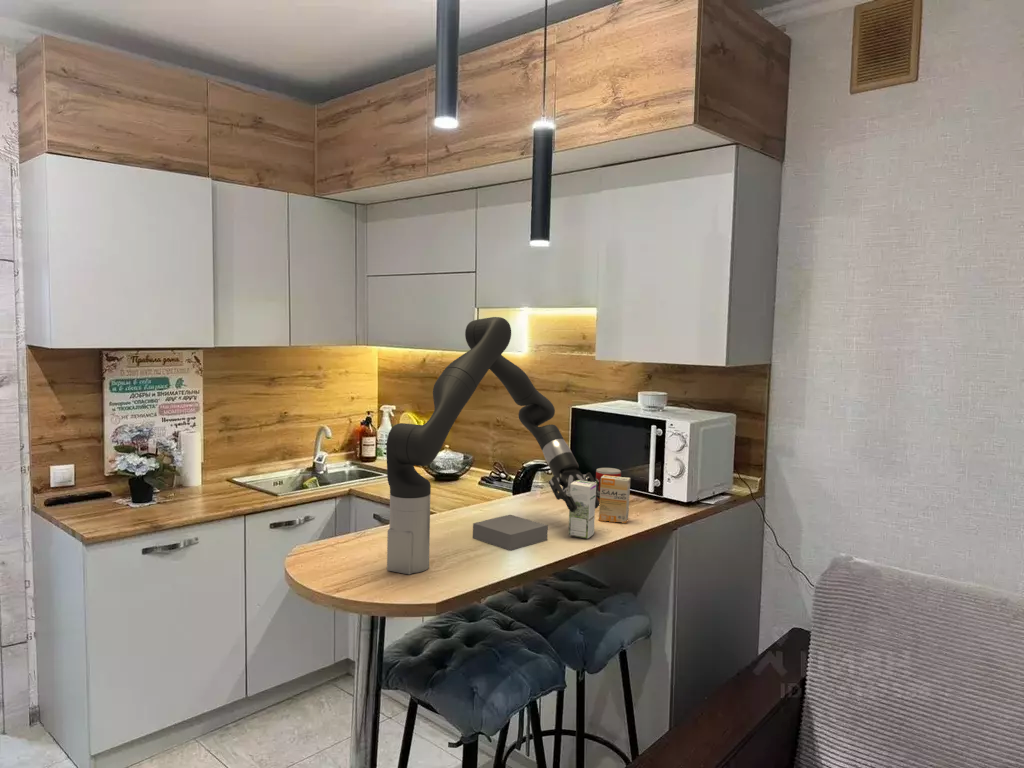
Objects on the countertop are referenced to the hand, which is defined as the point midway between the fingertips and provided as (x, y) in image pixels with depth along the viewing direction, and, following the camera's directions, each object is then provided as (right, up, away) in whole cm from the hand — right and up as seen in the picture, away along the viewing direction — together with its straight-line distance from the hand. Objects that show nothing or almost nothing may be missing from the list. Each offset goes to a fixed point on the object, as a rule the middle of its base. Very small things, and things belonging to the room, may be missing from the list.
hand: (585, 508), depth 192 cm
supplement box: (+10, -7, +19) cm, 22 cm away
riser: (-20, -8, -3) cm, 22 cm away
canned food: (+11, -5, +40) cm, 42 cm away
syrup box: (-1, -8, +2) cm, 8 cm away
